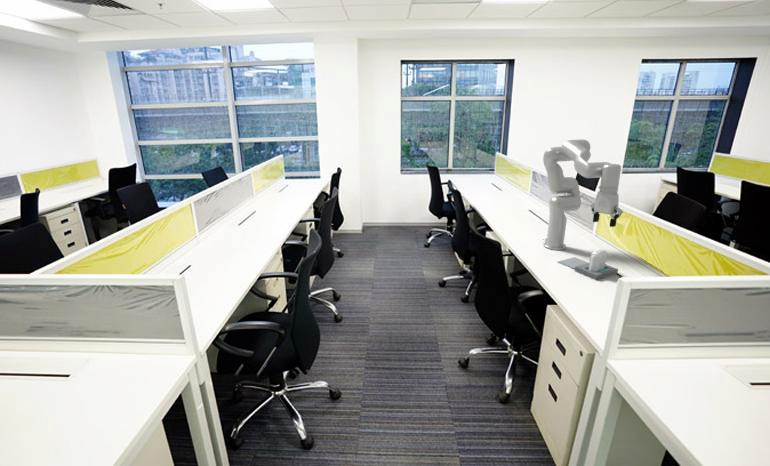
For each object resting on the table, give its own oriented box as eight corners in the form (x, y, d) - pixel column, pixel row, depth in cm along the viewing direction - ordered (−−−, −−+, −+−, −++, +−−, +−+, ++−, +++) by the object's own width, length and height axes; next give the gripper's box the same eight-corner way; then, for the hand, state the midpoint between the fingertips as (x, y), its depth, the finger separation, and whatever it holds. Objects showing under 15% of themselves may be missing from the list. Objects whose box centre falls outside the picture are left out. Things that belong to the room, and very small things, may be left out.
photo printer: (596, 268, 190) (600, 246, 186) (605, 271, 187) (609, 248, 183) (586, 273, 185) (589, 251, 181) (594, 276, 182) (598, 253, 178)
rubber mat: (557, 262, 199) (557, 261, 199) (574, 257, 204) (574, 257, 204) (573, 269, 191) (573, 268, 190) (590, 264, 195) (590, 263, 195)
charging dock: (574, 271, 188) (575, 266, 187) (595, 265, 194) (596, 260, 193) (595, 280, 178) (596, 274, 177) (617, 273, 184) (618, 268, 183)
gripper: (587, 188, 182) (583, 220, 187) (618, 193, 166) (613, 229, 171) (599, 186, 184) (595, 219, 189) (631, 192, 168) (625, 227, 173)
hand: (603, 224), depth 180 cm, fingers open, 9 cm apart
